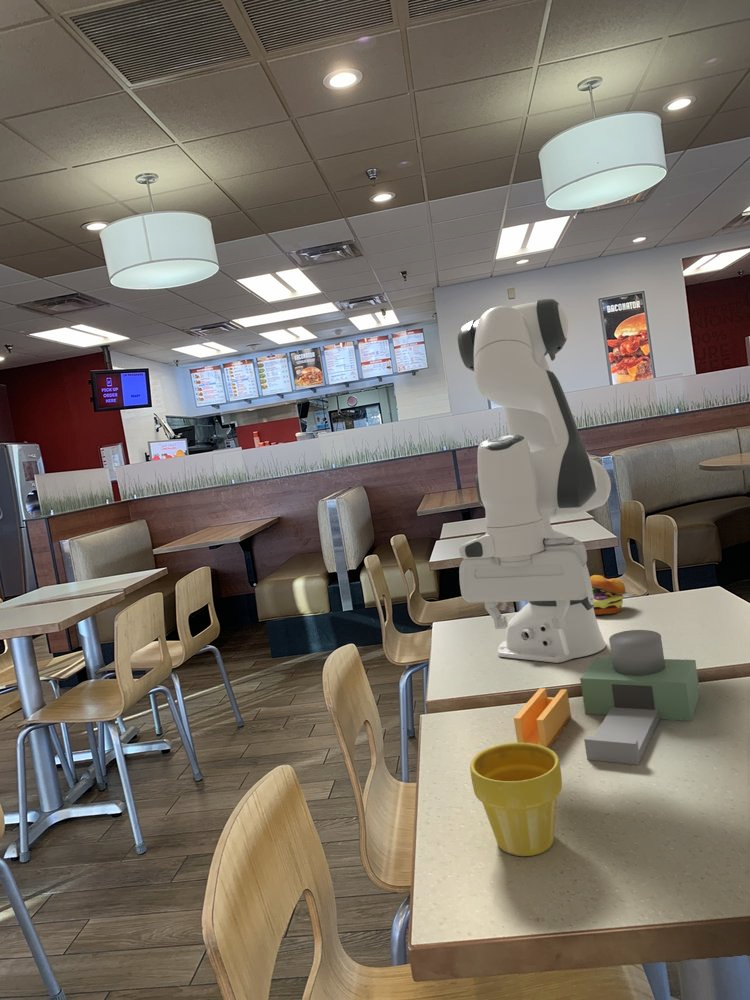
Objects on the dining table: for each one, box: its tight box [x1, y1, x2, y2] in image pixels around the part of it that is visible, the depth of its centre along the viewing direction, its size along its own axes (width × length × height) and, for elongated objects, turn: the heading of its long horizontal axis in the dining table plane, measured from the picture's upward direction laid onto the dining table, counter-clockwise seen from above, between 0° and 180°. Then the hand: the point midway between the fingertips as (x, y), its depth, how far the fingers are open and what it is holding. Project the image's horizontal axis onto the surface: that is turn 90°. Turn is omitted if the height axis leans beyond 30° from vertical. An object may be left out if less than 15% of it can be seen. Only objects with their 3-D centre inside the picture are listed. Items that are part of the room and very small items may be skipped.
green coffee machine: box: [579, 629, 701, 766], centre depth 107 cm, size 16×25×11 cm, turn 147°
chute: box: [513, 687, 572, 749], centre depth 109 cm, size 5×12×5 cm, turn 147°
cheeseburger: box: [590, 574, 627, 616], centre depth 170 cm, size 10×11×10 cm
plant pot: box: [469, 742, 563, 857], centre depth 82 cm, size 10×10×10 cm
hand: (530, 628), depth 108 cm, fingers open, 8 cm apart
